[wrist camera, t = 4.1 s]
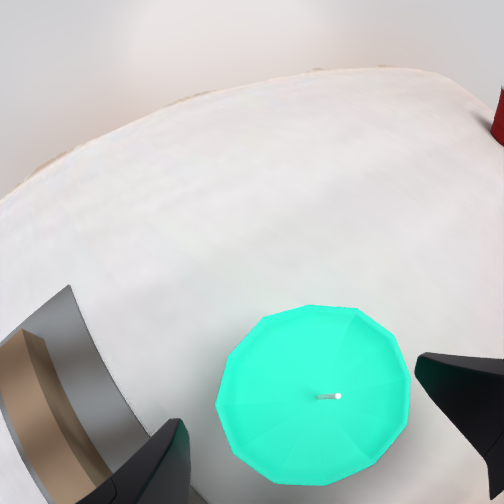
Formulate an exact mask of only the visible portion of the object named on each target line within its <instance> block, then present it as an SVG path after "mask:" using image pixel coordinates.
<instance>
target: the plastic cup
mask: <svg viewBox="0 0 504 504" xmlns="http://www.w3.org/2000/svg"><path fill="white" fill-rule="evenodd" d="M501 87H502V88H501V95H500V99H499V103H498V107H497V110H496V113H495V117H494V121H493V124H492V128H491V134H492V135H493V137H494V138H495V139H496V140H497V141H498V142H499V143H500V144H501V145H503V146H504V86H503V85H501Z"/></svg>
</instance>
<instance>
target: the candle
mask: <svg viewBox="0 0 504 504" xmlns="http://www.w3.org/2000/svg"><path fill="white" fill-rule="evenodd" d="M410 381H411V377H410V374H409V371H408V369H407V366H406V363H405V361H404V358H403V356H402V353H401V351H400V348H399V346H398V343H397V341H396V339H395V336H394V335H393V334H392V333H391V332H389V331H388V330H386V329H385V328H384V327H382V326H381V325H380V324H378V323H377V322H375V321H374V320H373V319H371V318H370V317H369V316H367V315H366V314H364V313H363V312H362V311H360V310H359V309H358V308H346V307H332V306H319V305H305V306H302V307H299V308H295V309H291V310H288V311H284V312H281V313H277V314H273V315H269V316H265V317H263V318H262V319H261V320H260V321H259V322H258V324H257V325H256V326H255V327H254V328H253V329H252V330H251V331H250V333H249V334H248V335H247V336H246V337H245V338H244V339H243V340H242V342H241V343H240V344H239V345H238V346H237V347H236V348H235V349H234V350H233V351H232V353H231V354H230V355H229V356H228V359H227V363H226V366H225V370H224V374H223V378H222V381H221V385H220V389H219V393H218V396H217V400H216V404H215V407H216V410H217V412H218V415H219V418H220V421H221V424H222V426H223V429H224V432H225V434H226V437H227V440H228V442H229V445H230V448H231V450H232V453H233V454H234V455H235V456H237V457H238V458H239V459H241V460H242V461H243V462H245V463H246V464H247V465H249V466H250V467H252V468H253V469H254V470H256V471H257V472H259V473H260V474H261V475H263V476H264V477H266V478H267V479H269V480H270V481H272V482H273V483H276V484H289V485H318V486H323V485H329V484H331V483H334V482H336V481H339V480H341V479H343V478H346V477H348V476H350V475H353V474H355V473H357V472H359V471H361V470H363V469H365V468H368V467H370V466H372V465H374V464H375V463H376V462H377V461H378V460H379V458H380V457H381V456H382V455H383V454H384V453H385V452H386V450H387V449H388V448H389V447H390V446H391V444H392V443H393V442H394V441H395V440H396V438H397V437H398V436H399V434H400V433H401V432H402V431H403V429H404V428H405V427H406V425H407V424H408V414H409V401H410Z"/></svg>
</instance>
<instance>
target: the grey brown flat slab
mask: <svg viewBox="0 0 504 504" xmlns="http://www.w3.org/2000/svg"><path fill="white" fill-rule="evenodd" d="M0 409H1V412H2V415H3V417H4V420H5V422H6V425H7V427H8V430H9V432H10V435H11V437H12V439H13V441H14V444H15V446H16V448H17V450H18V452H19V454H20V456H21V458H22V460H23V462H24V464H25V466H26V468H27V470H28V471H29V473H30V475H31V477H32V478H33V480H34V482H35V483H36V485H37V487H38V488H39V490H40V492H41V493H42V495H43V496H44V498H45V499H46V501H47V502H48V504H75V503H76V502H78V501H79V500H81V499H82V498H84V497H85V496H86V495H88V494H89V493H91V492H92V491H93V490H95V489H96V488H97V487H98V486H99V485H101V484H102V483H103V482H104V481H105V480H106V479H107V478H108V477H111V475H112V474H113V473H114V472H116V471H117V470H118V469H119V468H120V467H121V466H122V465H123V464H124V463H125V462H126V461H127V460H128V459H129V458H130V457H131V456H133V455H134V454H135V453H136V452H137V451H138V450H139V449H140V448H141V447H142V446H143V445H144V444H145V443H146V442H147V441H148V440H149V439H150V436H149V435H148V434H147V432H146V431H145V429H144V428H143V427H142V425H141V424H140V422H139V421H138V419H137V418H136V416H135V415H134V413H133V412H132V410H131V409H130V407H129V406H128V404H127V402H126V401H125V399H124V398H123V396H122V394H121V393H120V391H119V389H118V388H117V386H116V384H115V382H114V381H113V379H112V377H111V375H110V373H109V372H108V370H107V368H106V366H105V364H104V362H103V360H102V358H101V356H100V354H99V352H98V350H97V348H96V346H95V344H94V342H93V340H92V338H91V336H90V334H89V331H88V329H87V327H86V325H85V322H84V320H83V318H82V315H81V313H80V310H79V308H78V305H77V303H76V300H75V298H74V295H73V292H72V289H71V287H70V285H67V286H66V287H65V288H63V289H62V290H61V291H60V292H58V293H57V294H56V295H55V296H53V297H52V298H51V299H50V300H48V301H47V302H46V303H45V304H44V305H42V306H41V307H40V308H39V309H38V310H36V311H35V312H34V313H33V314H32V315H30V316H29V317H28V318H27V319H26V320H25V321H24V322H22V323H21V324H20V325H19V326H18V327H17V328H16V329H14V330H13V331H12V332H11V333H10V334H9V335H8V336H7V337H6V338H5V339H4V340H2V341H1V342H0ZM188 504H208V503H207V502H206V501H205V500H204V499H203V498H202V497H201V496H200V495H199V494H198V493H197V492H196V491H195V490H194V489H193V488H192V487H191V486H190V485H189V497H188Z"/></svg>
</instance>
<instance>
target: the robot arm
mask: <svg viewBox="0 0 504 504" xmlns="http://www.w3.org/2000/svg"><path fill="white" fill-rule="evenodd" d="M414 373H415V377H416V378H417V380H418V381H419V382H420V384H421V385H422V387H423V388H424V389H425V391H426V392H427V394H428V395H429V397H430V398H431V399H432V400H433V402H434V403H435V404H436V405H437V406H438V407H439V408H440V409H441V410H442V412H443V413H444V414H445V415H446V416H447V417H448V418H449V419H450V421H451V422H452V423H453V424H454V425H455V426H456V427H457V428H458V430H459V431H460V432H461V433H462V434H463V435H464V436H465V438H466V439H467V440H468V441H469V442H470V443H471V445H472V446H473V447H474V448H475V449H476V450H477V452H478V453H479V454H480V455H481V456H482V457H483V459H484V460H485V462H486V464H487V468H488V478H489V494H490V500H493V499H494V498H495V497H496V496H497V495H499V494H500V493H501V492H502V491H503V490H504V359H503V360H502V359H495V358H480V357H467V356H457V355H447V354H438V353H430V352H425V353H423V354H421V355H419V356H418V358H417V362H416V366H415V371H414ZM190 473H191V463H190V443H189V434H188V431H187V429H186V427H185V425H184V423H183V421H182V420H181V419H180V418H174V419H169V420H168V421H167V422H166V423H165V424H164V425H163V426H162V427H161V428H160V429H159V430H158V431H157V432H156V433H155V434H154V435H153V436H152V437H151V438H150V439H149V440H148V441H147V442H146V443H145V444H144V445H143V446H142V447H141V448H140V449H139V450H138V451H137V452H136V453H135V454H134V455H133V456H131V457H130V458H129V459H128V460H127V461H126V462H125V463H124V464H123V465H122V466H121V467H120V468H119V469H118V470H117V471H116V472H114V473H113V474H112V475H111V477H108V478H107V479H106V480H105V481H104V482H103V483H102V484H101V485H99V486H98V487H97V488H96V489H95V490H93V491H92V492H91V493H89V494H88V495H86V496H85V497H84V498H82V499H81V500H79V501H78V502H76V503H75V504H188V497H189V485H190Z"/></svg>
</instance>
